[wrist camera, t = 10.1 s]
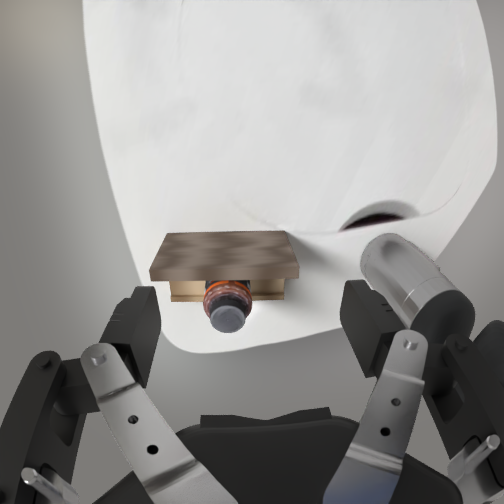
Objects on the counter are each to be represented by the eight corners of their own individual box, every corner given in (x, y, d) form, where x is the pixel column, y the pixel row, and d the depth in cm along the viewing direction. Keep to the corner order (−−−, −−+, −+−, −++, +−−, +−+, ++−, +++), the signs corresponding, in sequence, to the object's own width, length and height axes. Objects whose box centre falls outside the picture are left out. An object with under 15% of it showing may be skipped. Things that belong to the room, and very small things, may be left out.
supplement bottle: (199, 274, 43) (190, 324, 33) (222, 243, 41) (219, 288, 31) (233, 294, 45) (234, 346, 35) (257, 266, 43) (264, 314, 33)
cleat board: (284, 230, 44) (299, 266, 34) (280, 288, 48) (292, 333, 38) (167, 233, 43) (149, 269, 33) (174, 290, 47) (162, 335, 37)
